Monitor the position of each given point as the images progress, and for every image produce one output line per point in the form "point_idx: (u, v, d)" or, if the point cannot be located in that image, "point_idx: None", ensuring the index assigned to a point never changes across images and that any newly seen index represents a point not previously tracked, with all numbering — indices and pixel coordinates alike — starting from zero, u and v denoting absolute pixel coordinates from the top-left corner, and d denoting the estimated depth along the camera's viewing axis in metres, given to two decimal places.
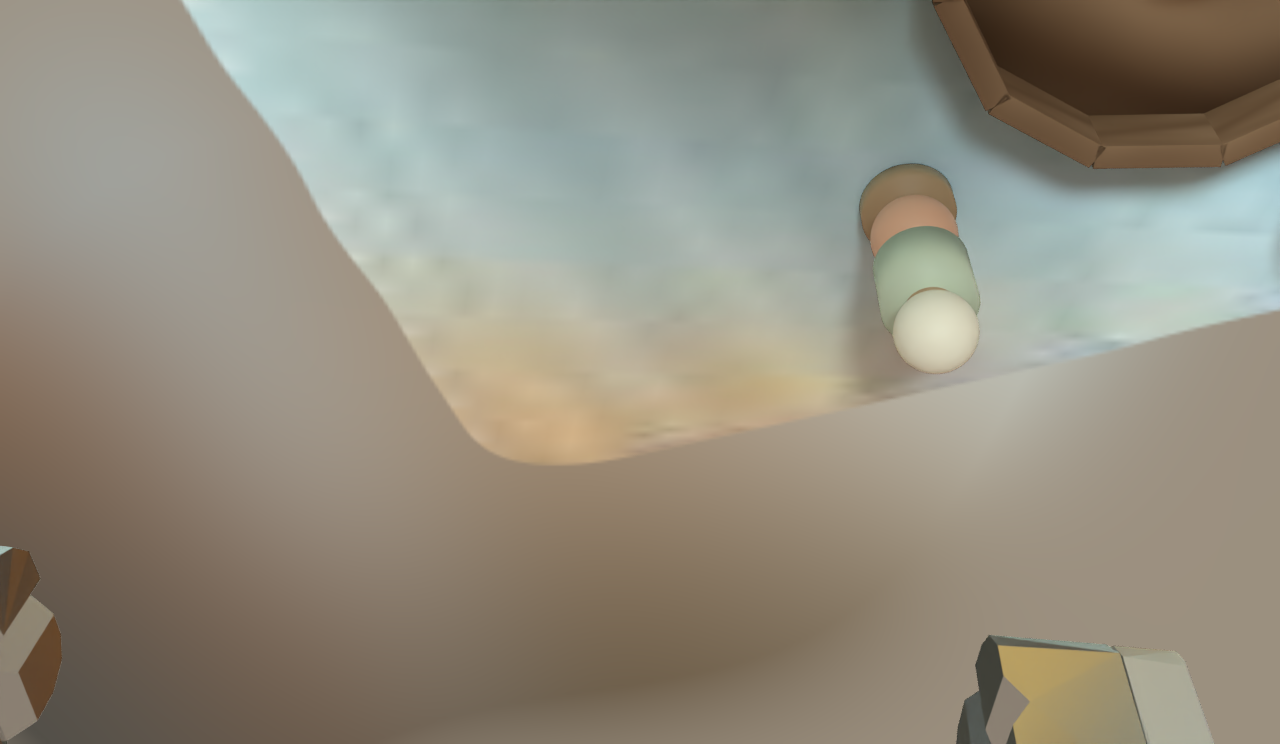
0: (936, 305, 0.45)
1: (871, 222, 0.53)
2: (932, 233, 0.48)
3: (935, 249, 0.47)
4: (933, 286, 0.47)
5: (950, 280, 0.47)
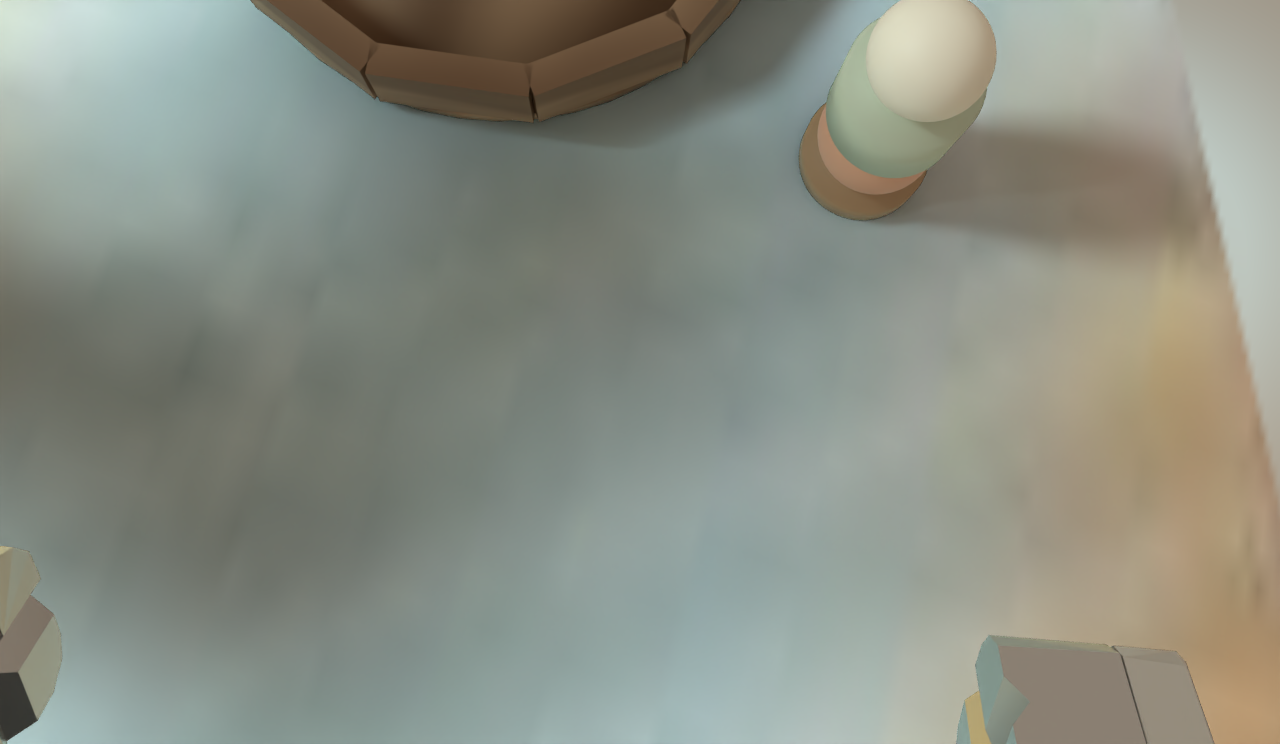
0: (871, 51, 0.30)
1: (869, 199, 0.38)
2: (830, 91, 0.35)
3: (836, 79, 0.33)
4: None
5: None
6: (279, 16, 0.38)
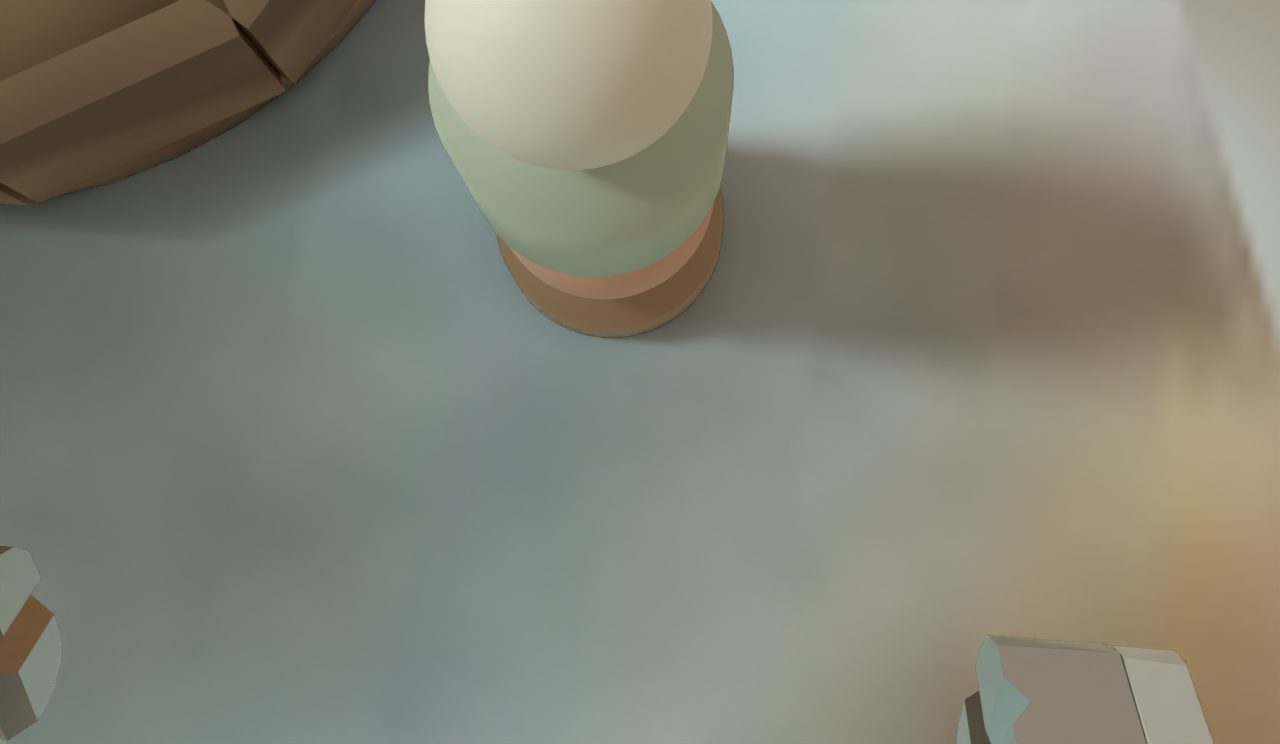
0: (425, 21, 0.13)
1: (618, 304, 0.21)
2: None
3: None
4: None
5: None
6: None
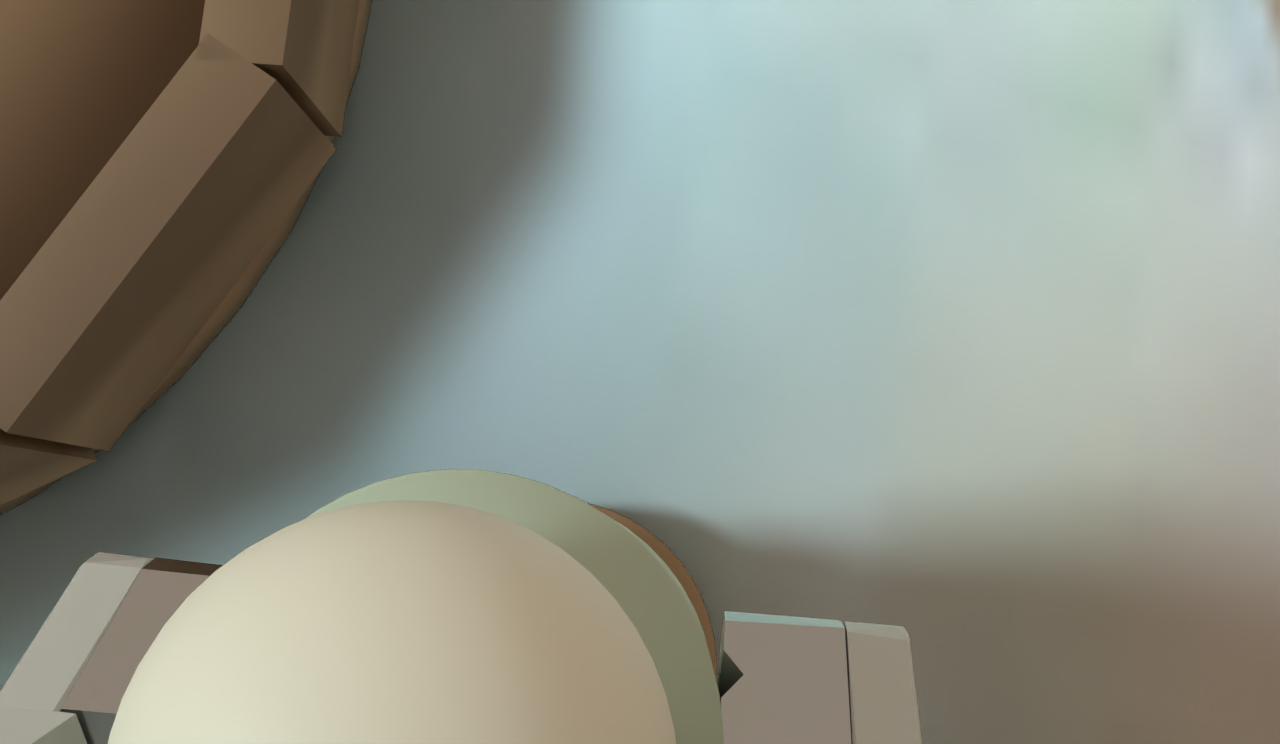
0: None
1: None
2: None
3: None
4: None
5: None
6: None
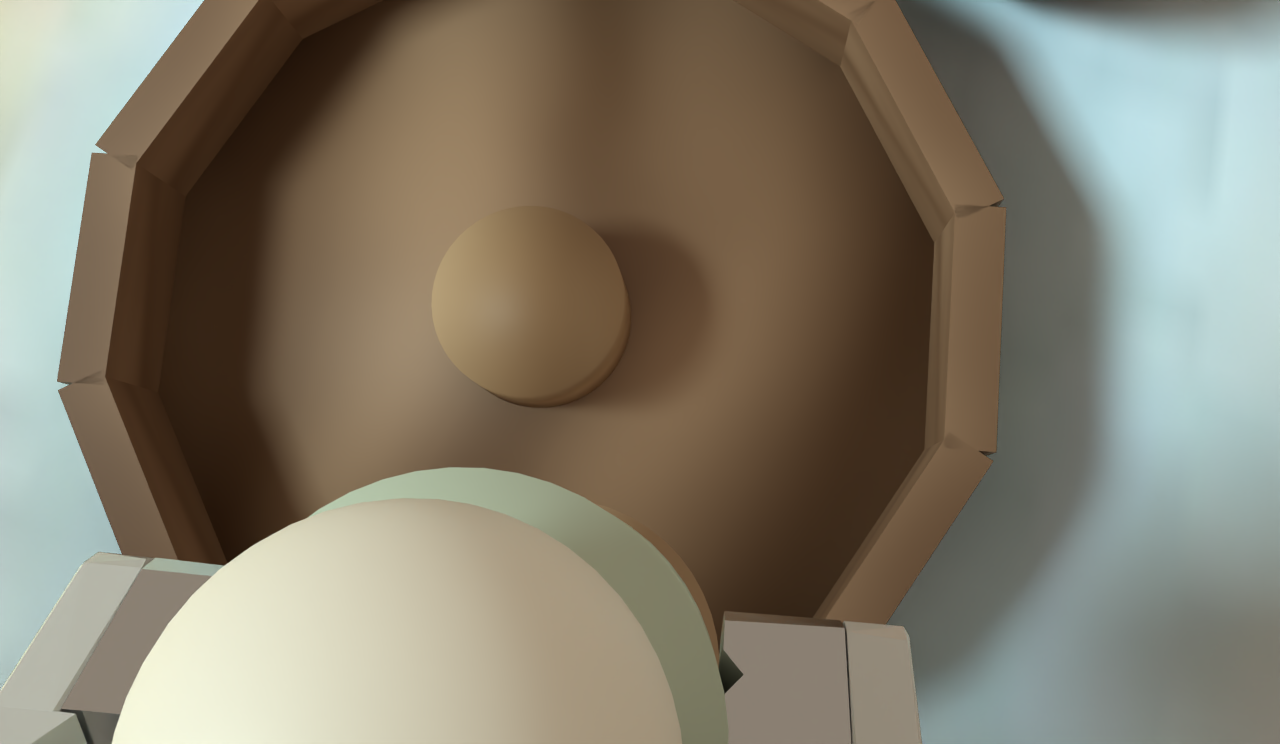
0: None
1: None
2: None
3: None
4: None
5: None
6: None
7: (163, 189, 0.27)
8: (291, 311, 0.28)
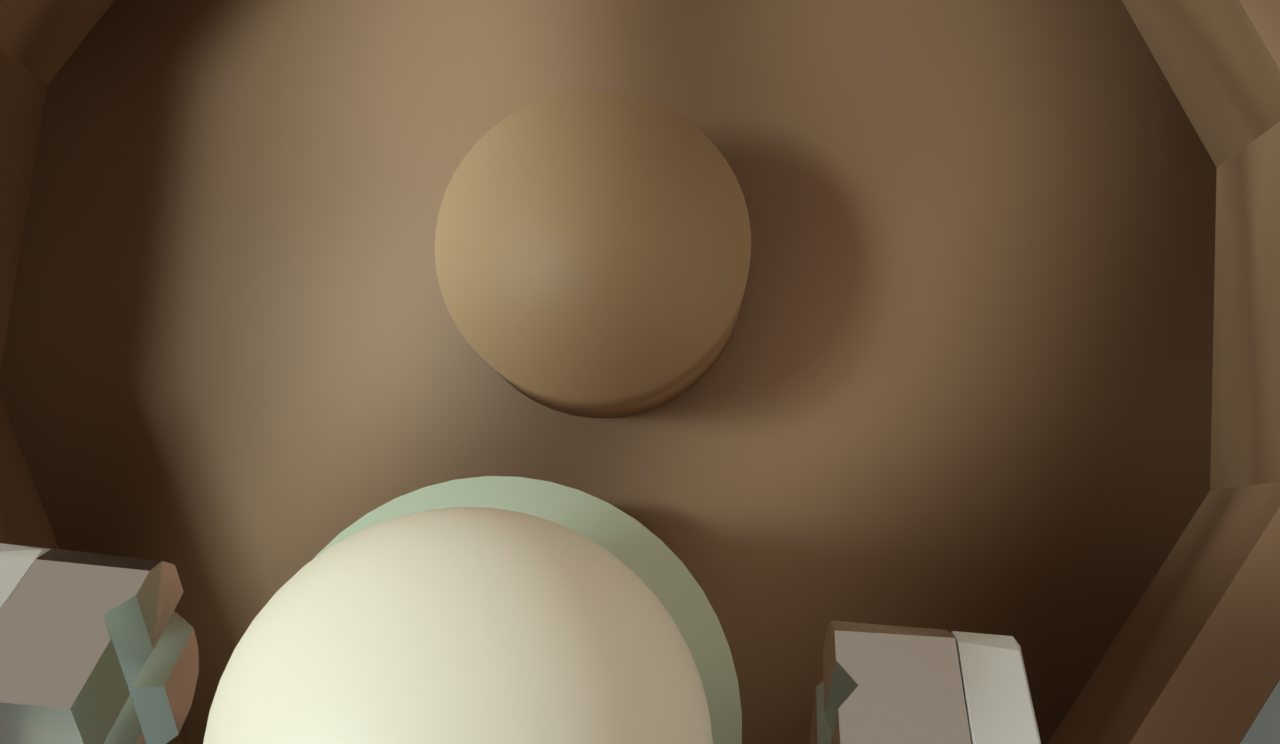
0: None
1: None
2: None
3: None
4: None
5: None
6: None
7: (6, 66, 0.17)
8: (210, 263, 0.18)
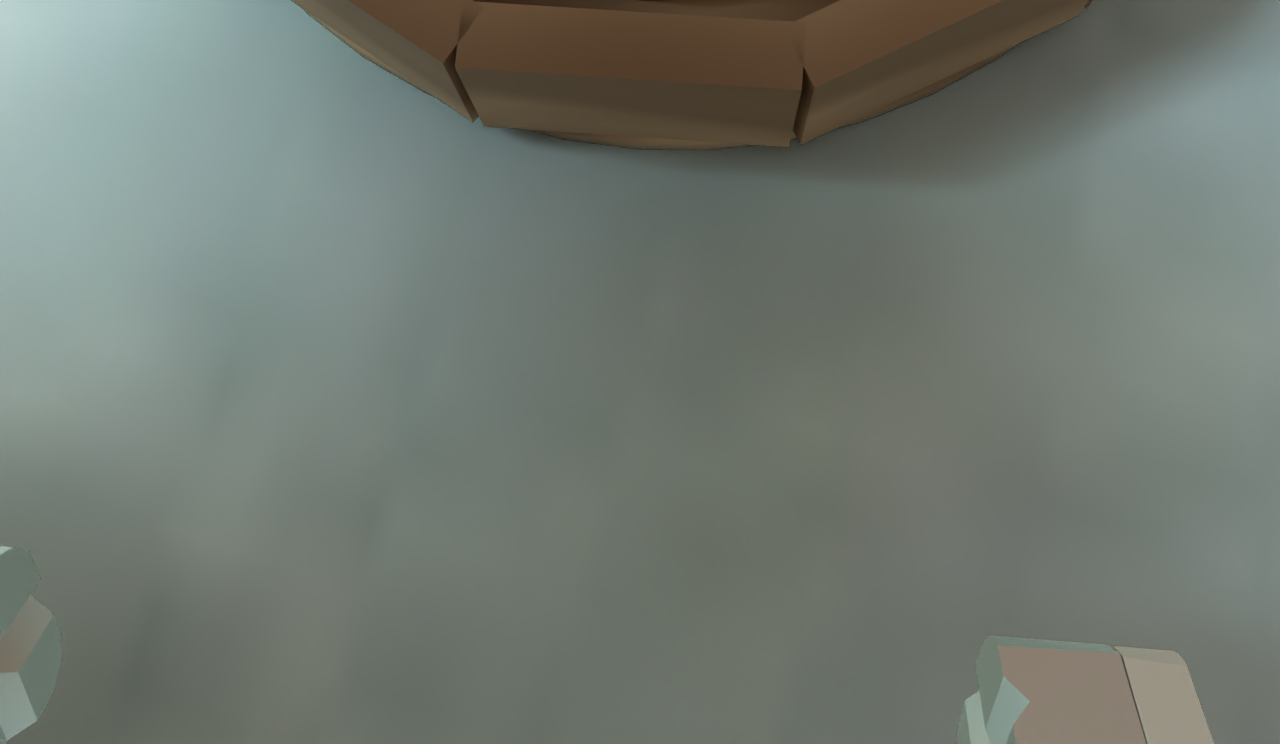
0: None
1: None
2: None
3: None
4: None
5: None
6: None
7: None
8: None
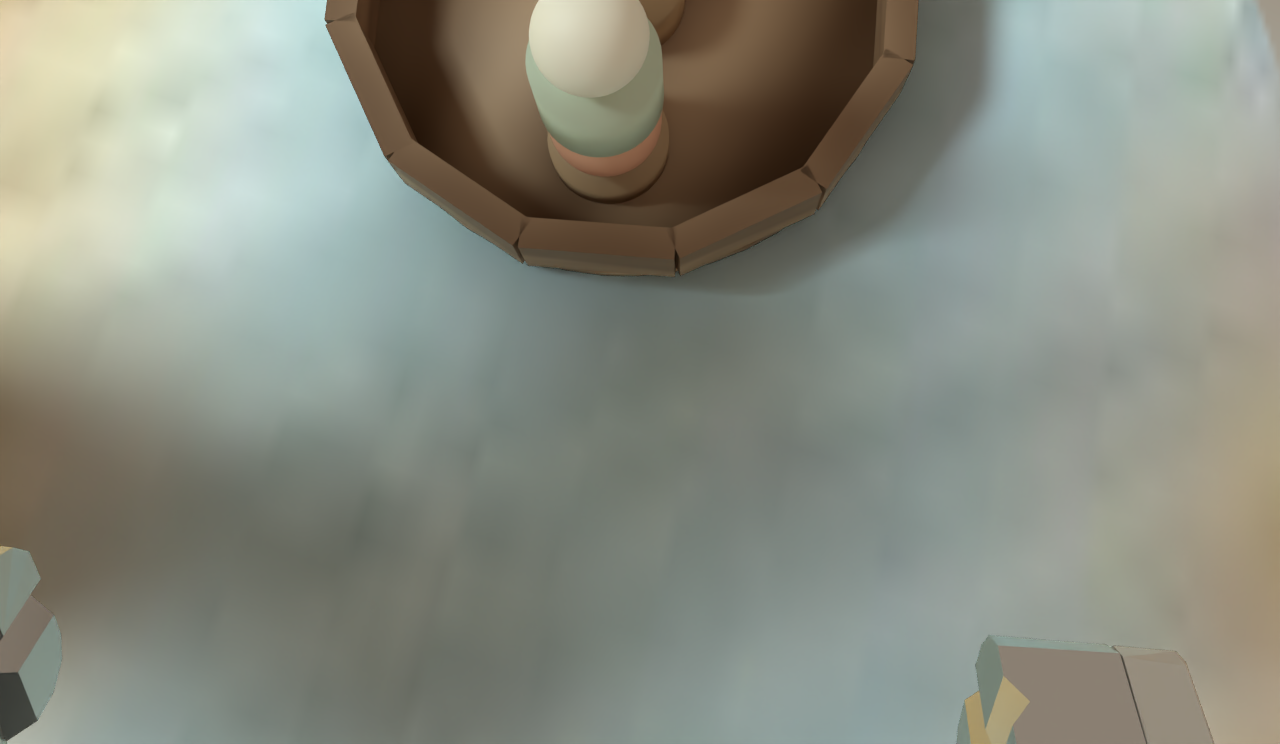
0: (529, 34, 0.32)
1: (612, 183, 0.40)
2: None
3: None
4: None
5: None
6: (431, 195, 0.40)
7: None
8: None
